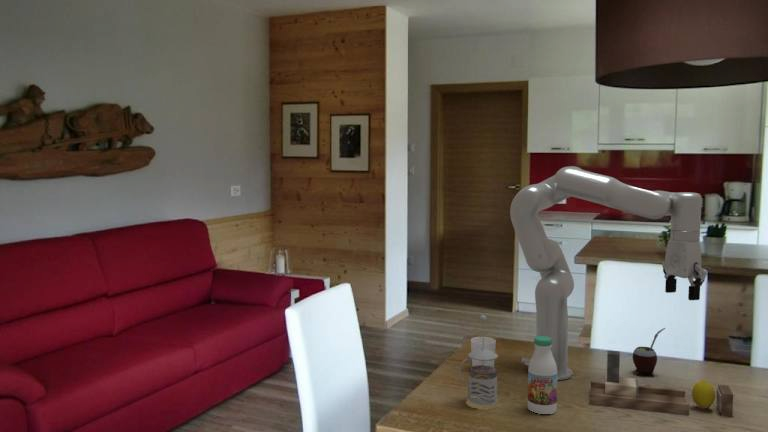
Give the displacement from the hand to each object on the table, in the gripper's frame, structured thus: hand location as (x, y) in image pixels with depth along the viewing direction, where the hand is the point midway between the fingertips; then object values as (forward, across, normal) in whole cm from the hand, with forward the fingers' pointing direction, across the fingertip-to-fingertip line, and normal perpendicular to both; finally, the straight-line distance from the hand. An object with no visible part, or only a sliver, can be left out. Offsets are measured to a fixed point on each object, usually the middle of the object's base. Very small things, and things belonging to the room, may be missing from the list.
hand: (681, 296), depth 183 cm
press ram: (+27, +1, -19) cm, 33 cm away
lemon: (+28, +12, -1) cm, 31 cm away
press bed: (+28, +4, -15) cm, 33 cm away
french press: (+29, -7, -58) cm, 65 cm away
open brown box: (+28, +15, +3) cm, 32 cm away
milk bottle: (+29, +2, -43) cm, 52 cm away
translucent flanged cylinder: (+29, -32, -47) cm, 64 cm away
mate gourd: (+29, -16, +1) cm, 33 cm away
